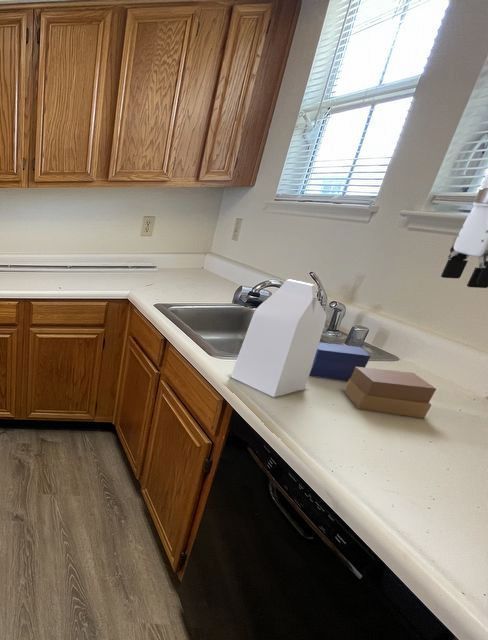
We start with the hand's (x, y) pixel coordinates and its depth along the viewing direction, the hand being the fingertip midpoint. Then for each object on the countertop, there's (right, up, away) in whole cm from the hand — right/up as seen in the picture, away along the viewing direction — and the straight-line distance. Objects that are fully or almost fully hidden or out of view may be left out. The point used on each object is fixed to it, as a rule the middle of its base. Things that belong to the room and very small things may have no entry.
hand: (462, 282), depth 92 cm
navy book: (-13, -16, +18) cm, 27 cm away
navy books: (-13, -20, +20) cm, 31 cm away
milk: (-33, -23, +16) cm, 43 cm away
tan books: (-12, -27, +6) cm, 31 cm away
